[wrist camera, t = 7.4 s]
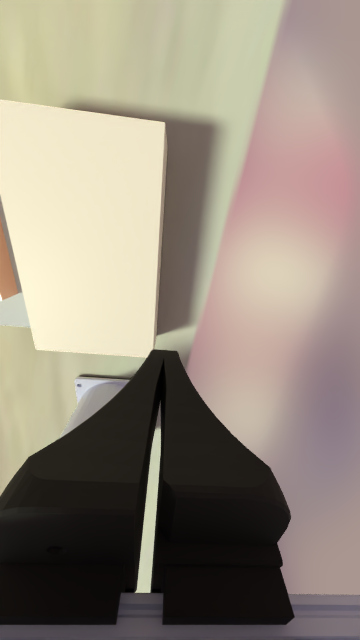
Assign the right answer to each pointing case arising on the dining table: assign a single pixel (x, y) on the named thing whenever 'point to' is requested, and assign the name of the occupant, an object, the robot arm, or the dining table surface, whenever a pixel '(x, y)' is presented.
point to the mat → (14, 306)
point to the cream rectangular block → (85, 224)
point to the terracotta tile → (6, 270)
